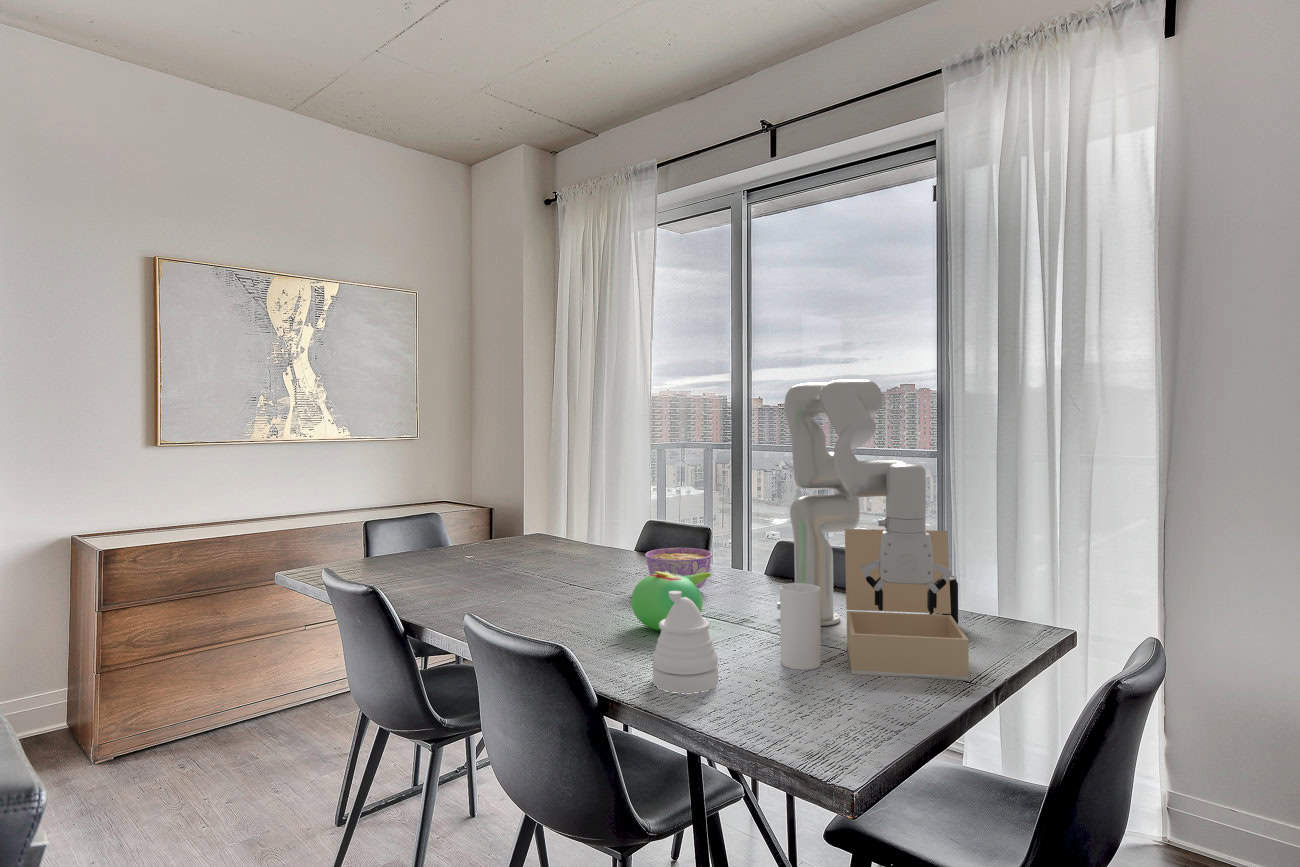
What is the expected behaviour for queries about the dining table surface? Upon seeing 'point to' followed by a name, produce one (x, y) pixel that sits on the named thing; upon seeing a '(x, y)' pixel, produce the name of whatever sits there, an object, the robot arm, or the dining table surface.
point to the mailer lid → (896, 597)
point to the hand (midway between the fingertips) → (905, 610)
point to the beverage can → (952, 599)
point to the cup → (800, 626)
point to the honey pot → (684, 650)
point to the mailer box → (907, 645)
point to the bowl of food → (679, 561)
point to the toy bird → (663, 595)
